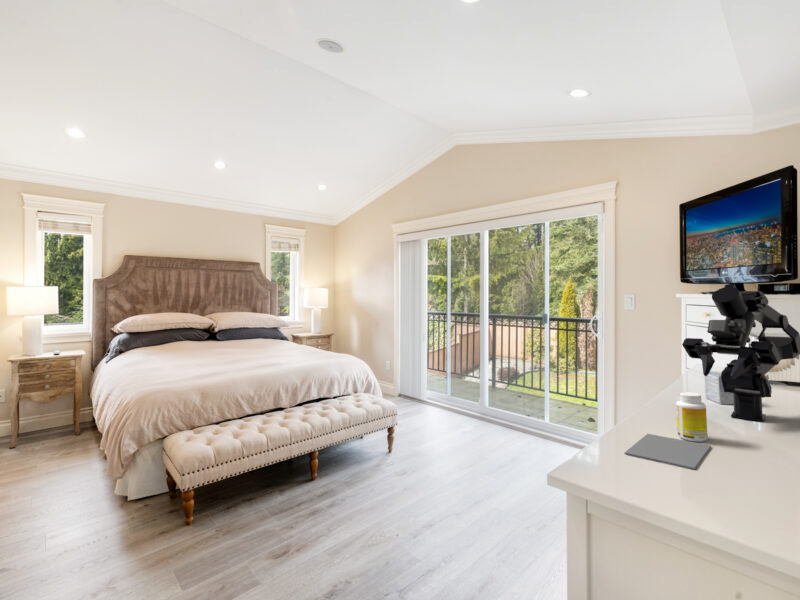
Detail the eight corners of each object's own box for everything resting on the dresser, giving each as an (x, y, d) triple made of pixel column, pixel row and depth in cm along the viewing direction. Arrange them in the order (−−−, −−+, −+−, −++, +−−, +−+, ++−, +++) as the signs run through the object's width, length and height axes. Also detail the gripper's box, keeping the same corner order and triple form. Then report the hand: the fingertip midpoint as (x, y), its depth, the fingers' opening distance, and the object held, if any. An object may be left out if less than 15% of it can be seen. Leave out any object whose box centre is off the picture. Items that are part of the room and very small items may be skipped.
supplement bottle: (714, 442, 89) (711, 396, 89) (689, 443, 89) (687, 397, 89) (694, 434, 95) (692, 390, 95) (672, 435, 94) (669, 391, 95)
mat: (647, 435, 95) (647, 433, 95) (710, 447, 86) (710, 445, 86) (624, 454, 84) (624, 452, 84) (694, 469, 75) (694, 467, 75)
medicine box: (736, 404, 118) (735, 375, 118) (719, 404, 119) (718, 375, 119) (721, 398, 126) (719, 371, 126) (705, 398, 127) (703, 371, 127)
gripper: (684, 308, 109) (664, 352, 104) (772, 307, 93) (754, 359, 88) (699, 335, 113) (681, 379, 108) (787, 338, 97) (771, 390, 91)
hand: (718, 376), depth 98 cm, fingers open, 5 cm apart
